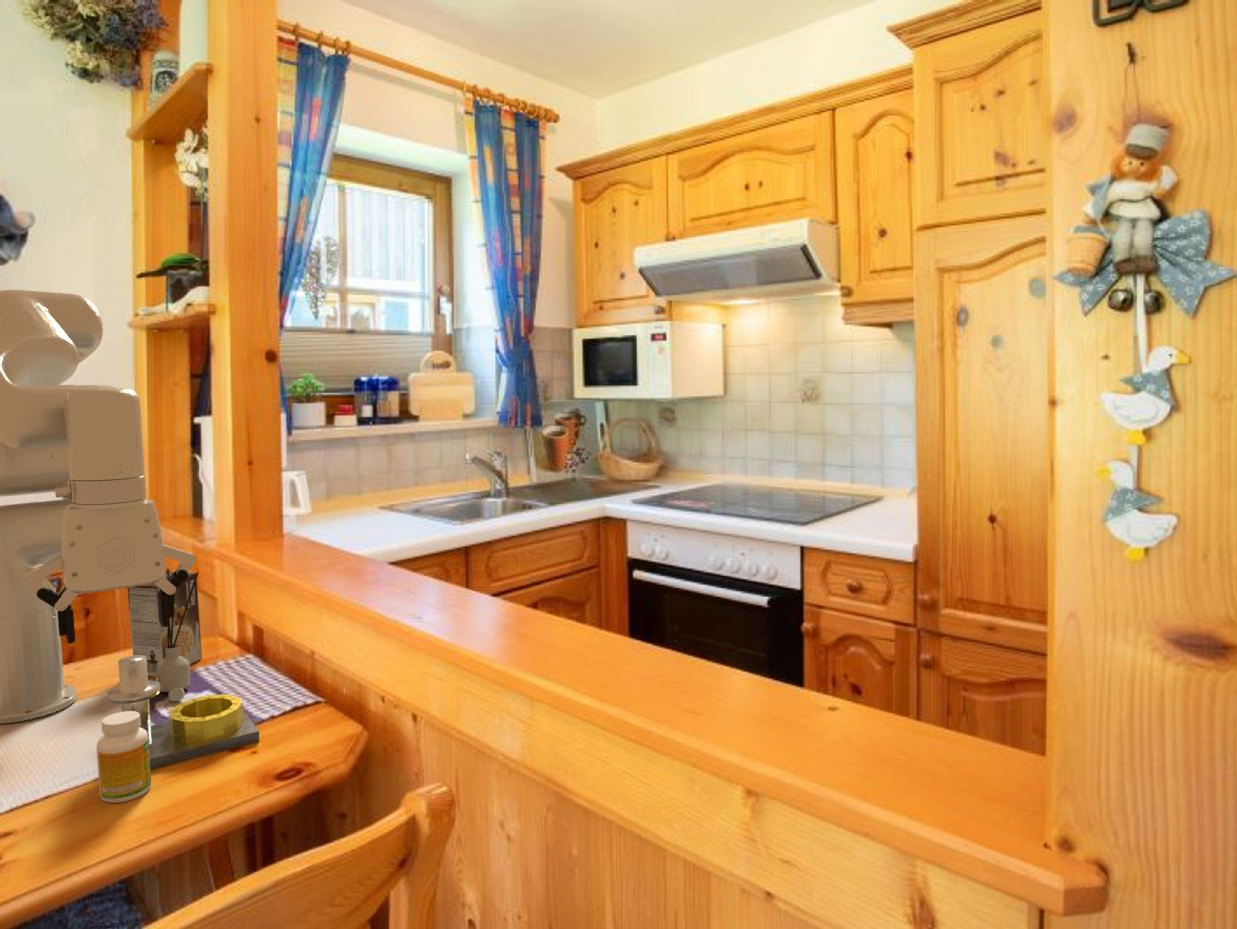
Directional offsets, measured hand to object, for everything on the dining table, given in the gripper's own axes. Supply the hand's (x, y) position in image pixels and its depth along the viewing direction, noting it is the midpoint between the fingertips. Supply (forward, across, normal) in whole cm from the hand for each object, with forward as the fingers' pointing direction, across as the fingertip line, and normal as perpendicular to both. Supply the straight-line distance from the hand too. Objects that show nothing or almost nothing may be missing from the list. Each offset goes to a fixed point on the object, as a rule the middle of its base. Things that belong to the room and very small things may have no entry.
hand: (118, 631), depth 95 cm
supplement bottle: (+21, 0, 0) cm, 21 cm away
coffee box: (+21, +11, +44) cm, 50 cm away
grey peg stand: (+20, +8, +10) cm, 24 cm away
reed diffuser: (+21, +11, +31) cm, 39 cm away
